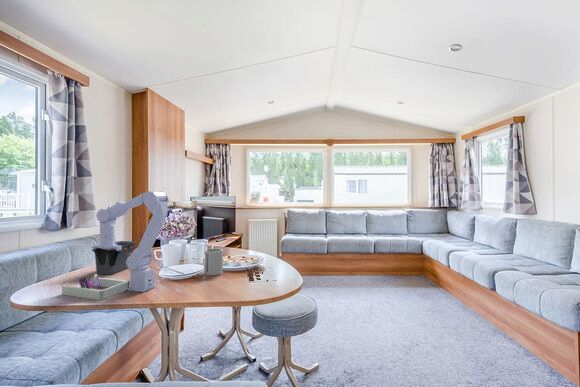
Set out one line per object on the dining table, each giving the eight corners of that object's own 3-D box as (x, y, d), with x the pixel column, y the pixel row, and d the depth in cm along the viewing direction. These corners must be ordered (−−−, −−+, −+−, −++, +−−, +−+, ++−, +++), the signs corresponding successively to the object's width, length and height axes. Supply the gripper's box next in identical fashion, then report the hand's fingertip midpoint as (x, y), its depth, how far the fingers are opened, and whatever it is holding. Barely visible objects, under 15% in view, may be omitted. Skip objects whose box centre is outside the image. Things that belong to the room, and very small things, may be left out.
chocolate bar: (246, 268, 169) (246, 266, 169) (270, 267, 171) (270, 265, 171) (248, 283, 142) (248, 280, 142) (276, 281, 145) (276, 279, 145)
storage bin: (117, 265, 173) (117, 240, 173) (142, 266, 171) (142, 241, 171) (88, 275, 152) (88, 247, 152) (115, 276, 150) (115, 248, 150)
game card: (81, 279, 124) (98, 273, 133) (70, 282, 125) (88, 276, 134) (85, 294, 124) (102, 287, 133) (75, 298, 124) (92, 290, 133)
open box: (129, 289, 132) (129, 281, 132) (101, 300, 118) (101, 291, 118) (92, 284, 138) (92, 276, 138) (61, 294, 124) (61, 286, 124)
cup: (225, 270, 162) (225, 248, 162) (219, 275, 153) (219, 252, 153) (208, 270, 163) (208, 248, 163) (202, 275, 154) (202, 251, 154)
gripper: (127, 234, 137) (127, 264, 137) (102, 233, 141) (102, 262, 141) (114, 237, 130) (114, 268, 130) (88, 235, 134) (88, 265, 134)
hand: (107, 265), depth 135 cm, fingers open, 5 cm apart
